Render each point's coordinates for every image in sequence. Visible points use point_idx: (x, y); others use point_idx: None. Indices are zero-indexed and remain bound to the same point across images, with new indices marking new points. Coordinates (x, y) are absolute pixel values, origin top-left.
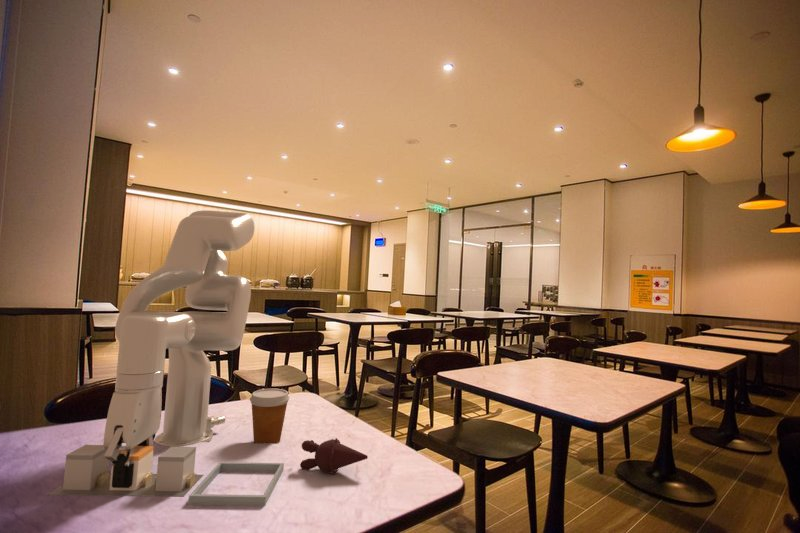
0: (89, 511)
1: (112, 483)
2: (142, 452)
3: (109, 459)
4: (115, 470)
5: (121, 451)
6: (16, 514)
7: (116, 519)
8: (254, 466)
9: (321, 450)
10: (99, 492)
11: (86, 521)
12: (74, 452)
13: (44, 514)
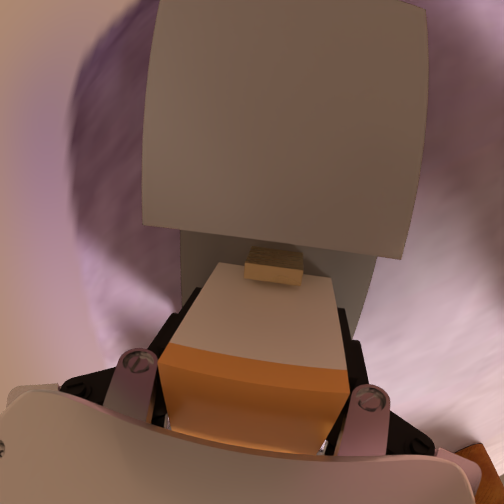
0: (132, 240)
1: (194, 293)
2: None
3: (51, 386)
4: (150, 346)
5: (237, 387)
6: (124, 30)
7: (113, 324)
8: None
9: None
10: (199, 233)
11: (94, 260)
12: (219, 3)
13: (115, 110)
